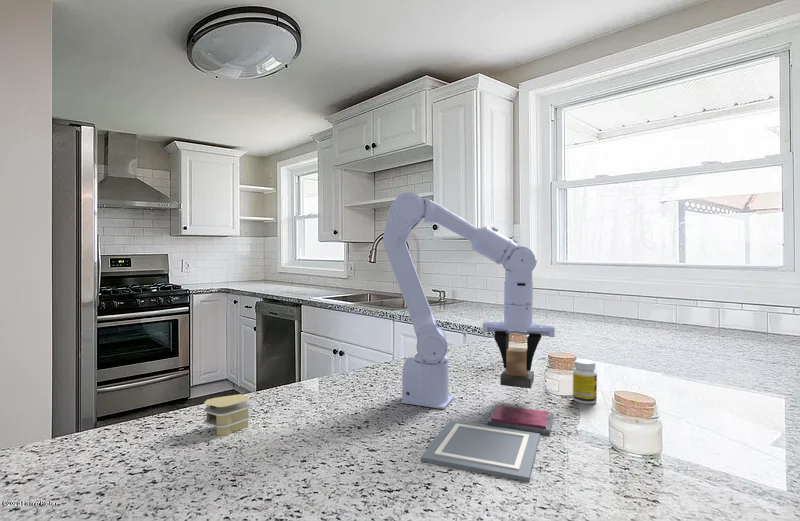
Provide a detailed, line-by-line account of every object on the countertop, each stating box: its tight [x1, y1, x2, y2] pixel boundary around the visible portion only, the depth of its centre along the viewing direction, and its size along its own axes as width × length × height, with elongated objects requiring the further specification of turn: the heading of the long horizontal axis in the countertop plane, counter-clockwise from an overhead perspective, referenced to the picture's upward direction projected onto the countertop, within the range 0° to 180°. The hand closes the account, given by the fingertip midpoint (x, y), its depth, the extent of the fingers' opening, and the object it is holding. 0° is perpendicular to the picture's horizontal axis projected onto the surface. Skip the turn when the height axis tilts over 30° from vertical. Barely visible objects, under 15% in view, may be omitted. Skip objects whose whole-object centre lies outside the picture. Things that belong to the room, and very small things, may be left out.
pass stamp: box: [499, 346, 535, 390], centre depth 94 cm, size 6×6×7 cm
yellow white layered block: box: [203, 393, 252, 437], centre depth 81 cm, size 10×9×6 cm
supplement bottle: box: [572, 358, 598, 405], centre depth 95 cm, size 5×5×8 cm
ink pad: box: [486, 404, 554, 436], centre depth 84 cm, size 11×9×1 cm
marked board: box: [420, 419, 541, 483], centre depth 73 cm, size 16×16×1 cm
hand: (517, 368), depth 94 cm, fingers closed on pass stamp, 4 cm apart
